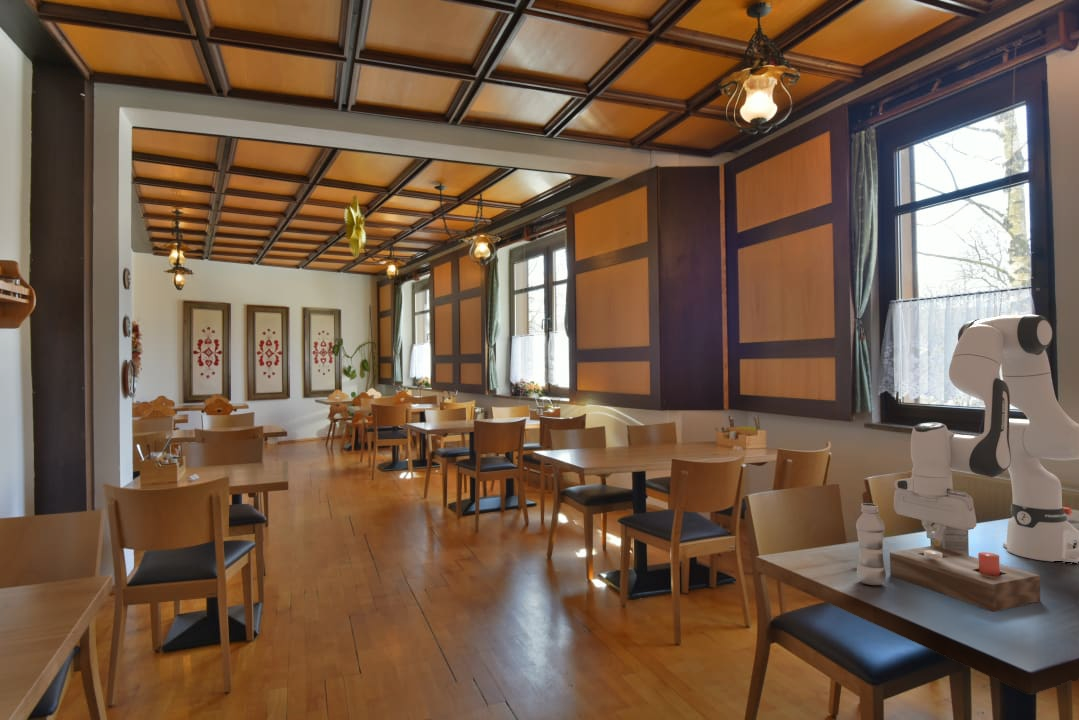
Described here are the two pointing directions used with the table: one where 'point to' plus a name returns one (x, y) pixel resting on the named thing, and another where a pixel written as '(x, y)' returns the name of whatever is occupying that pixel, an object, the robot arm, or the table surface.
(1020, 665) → the table surface
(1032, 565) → the table surface
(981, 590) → the plug housing
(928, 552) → the plug
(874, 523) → the plastic bottle
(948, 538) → the coffee box
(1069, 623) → the table surface
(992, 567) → the red plug
